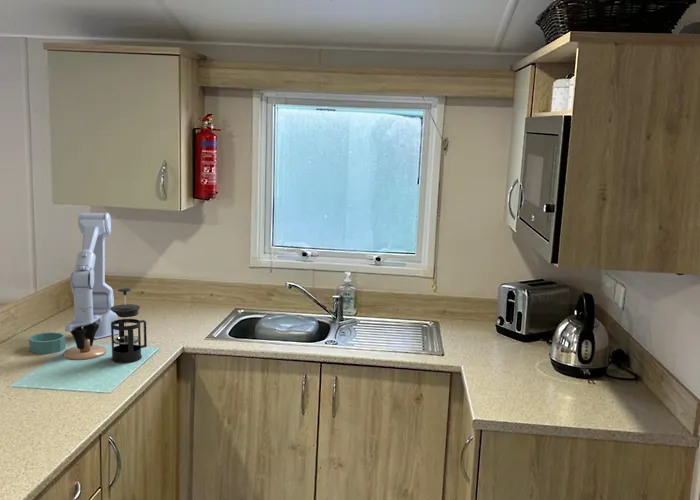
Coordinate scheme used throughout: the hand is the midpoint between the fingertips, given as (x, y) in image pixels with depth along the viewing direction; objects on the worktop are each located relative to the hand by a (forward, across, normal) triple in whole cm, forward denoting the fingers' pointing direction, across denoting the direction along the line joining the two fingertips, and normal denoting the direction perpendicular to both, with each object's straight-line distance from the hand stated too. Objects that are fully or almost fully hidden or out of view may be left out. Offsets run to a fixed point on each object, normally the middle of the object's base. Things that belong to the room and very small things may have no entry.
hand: (85, 347), depth 228 cm
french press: (+2, -3, +15) cm, 16 cm away
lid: (+2, 0, 0) cm, 2 cm away
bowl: (+2, +2, -14) cm, 14 cm away
